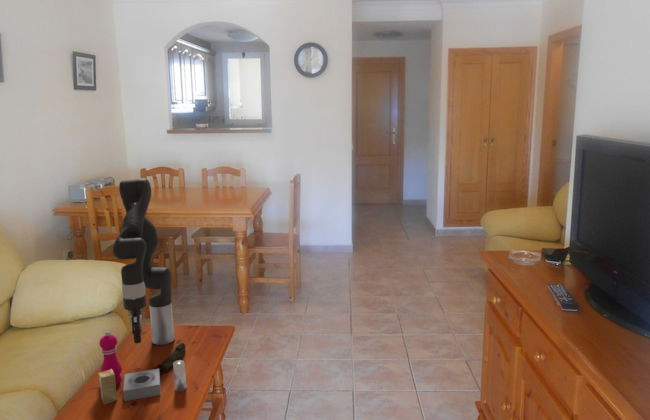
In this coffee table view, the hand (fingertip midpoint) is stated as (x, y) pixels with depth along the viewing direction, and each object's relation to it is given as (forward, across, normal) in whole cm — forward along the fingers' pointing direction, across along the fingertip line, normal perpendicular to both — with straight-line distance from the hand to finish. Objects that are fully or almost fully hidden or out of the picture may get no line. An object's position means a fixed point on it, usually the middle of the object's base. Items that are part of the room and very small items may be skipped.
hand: (138, 337), depth 178 cm
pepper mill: (+20, -10, -11) cm, 25 cm away
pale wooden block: (+20, +3, -11) cm, 23 cm away
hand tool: (+21, -18, +11) cm, 29 cm away
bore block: (+20, 0, 0) cm, 20 cm away
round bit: (+20, +4, +13) cm, 24 cm away
